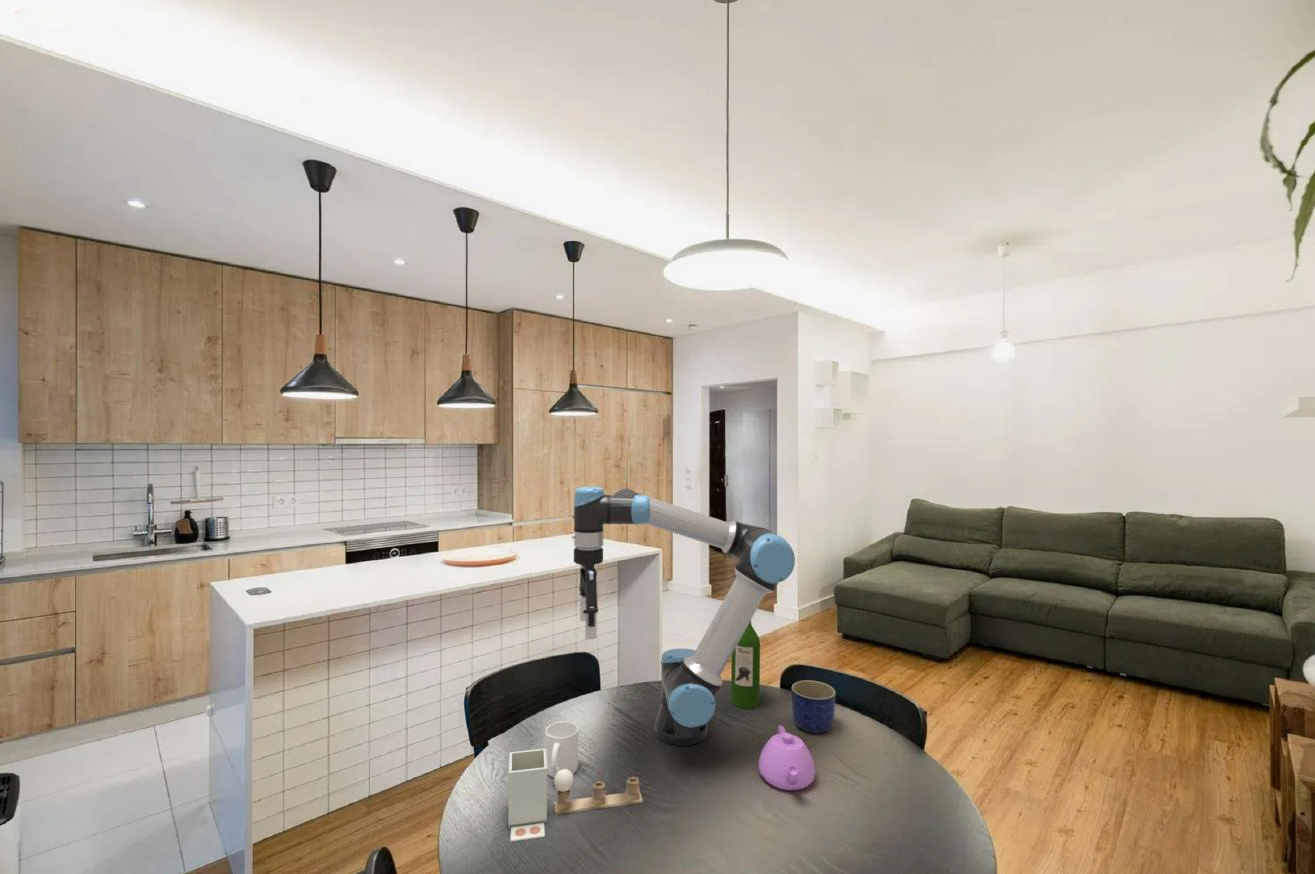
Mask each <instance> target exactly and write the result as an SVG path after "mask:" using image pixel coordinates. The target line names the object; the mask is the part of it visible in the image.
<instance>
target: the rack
mask: <svg viewBox="0 0 1315 874" xmlns="http://www.w3.org/2000/svg"><path fill="white" fill-rule="evenodd" d="M625 782H626V784H625V785H626V786H625V787H626V792H621V793H613V794H606V786H605V784H606V783H605V781H604V780H599V781H592V796H590V797H582V798H575V799H571V790H570V789H571V788H570V789H569V790H567V791H559V790H558V789H557V801H554V803H553V806H554V815H555V816H556V815H563V814H572V813H578V812H585V811H591V810H592V811H593V810H594V811H595V810H600V809H607V808H613V807H615V808H616V807H621V806H623V807H624V806H629V805H637V804H638V805H639V804H643V803H644V802H643V801H644V800H643V797H642V793H641V791H640V781H639V777H638V776H632V777H626V781H625Z"/></svg>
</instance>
